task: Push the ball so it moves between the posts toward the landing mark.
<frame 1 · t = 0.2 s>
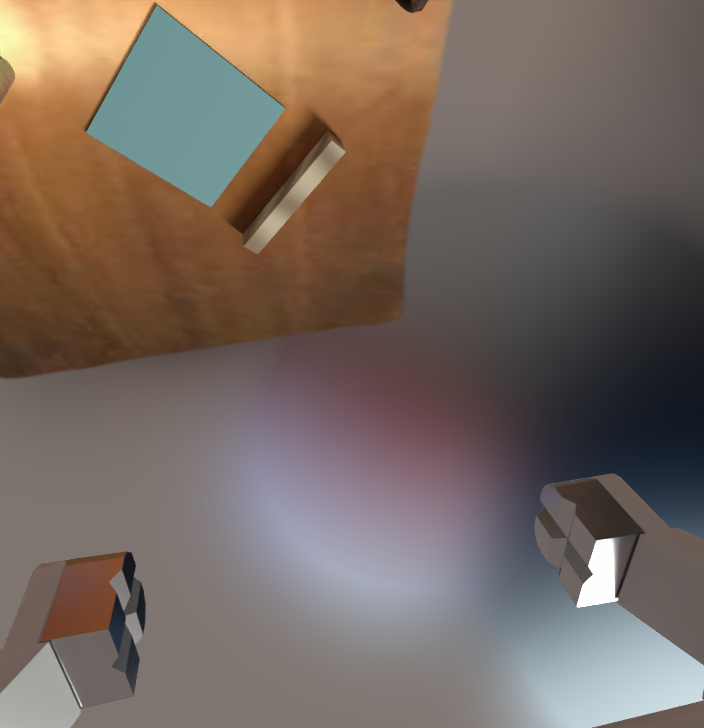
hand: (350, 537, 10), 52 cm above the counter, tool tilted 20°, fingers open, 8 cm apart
landing mark: (187, 119, 53), on the counter
stopper strip: (289, 190, 61), on the counter
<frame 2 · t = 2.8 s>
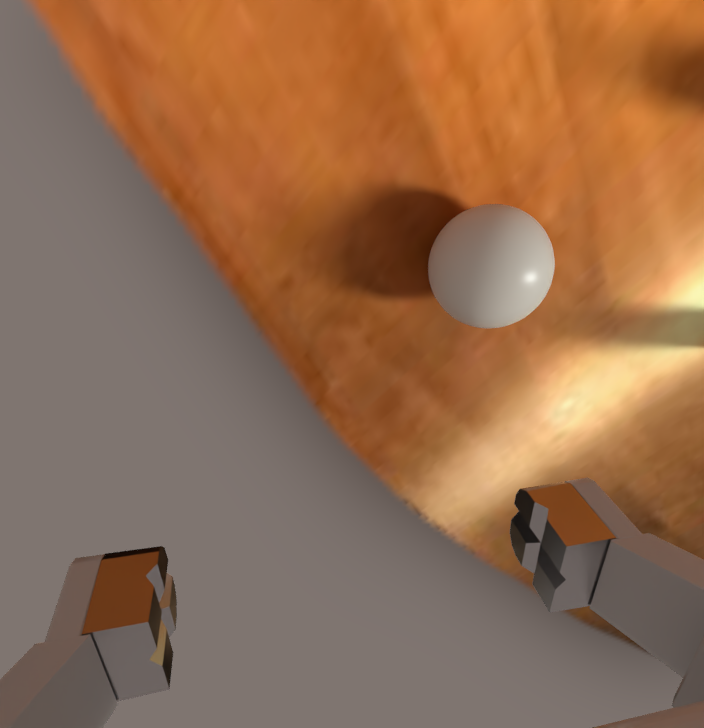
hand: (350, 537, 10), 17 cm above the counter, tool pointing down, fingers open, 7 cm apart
ball: (489, 267, 24), on the counter
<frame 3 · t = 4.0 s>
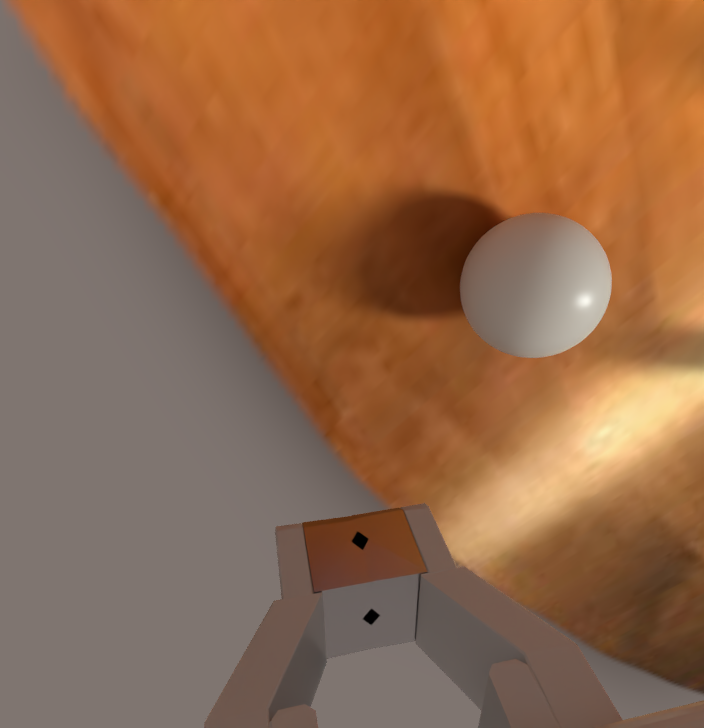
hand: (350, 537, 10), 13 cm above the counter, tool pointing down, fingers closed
ball: (532, 286, 21), on the counter
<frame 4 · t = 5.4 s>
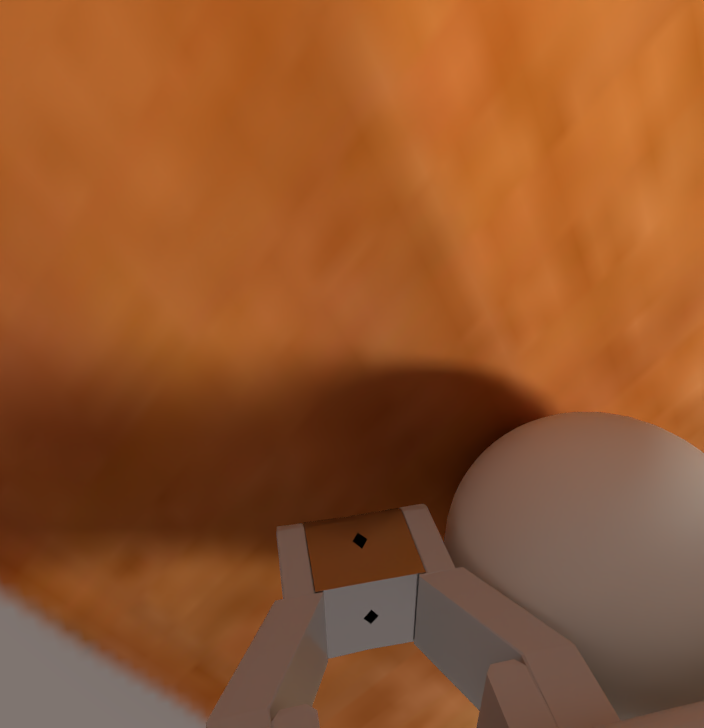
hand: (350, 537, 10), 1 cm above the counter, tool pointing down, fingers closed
ball: (592, 558, 10), on the counter, touching gripper
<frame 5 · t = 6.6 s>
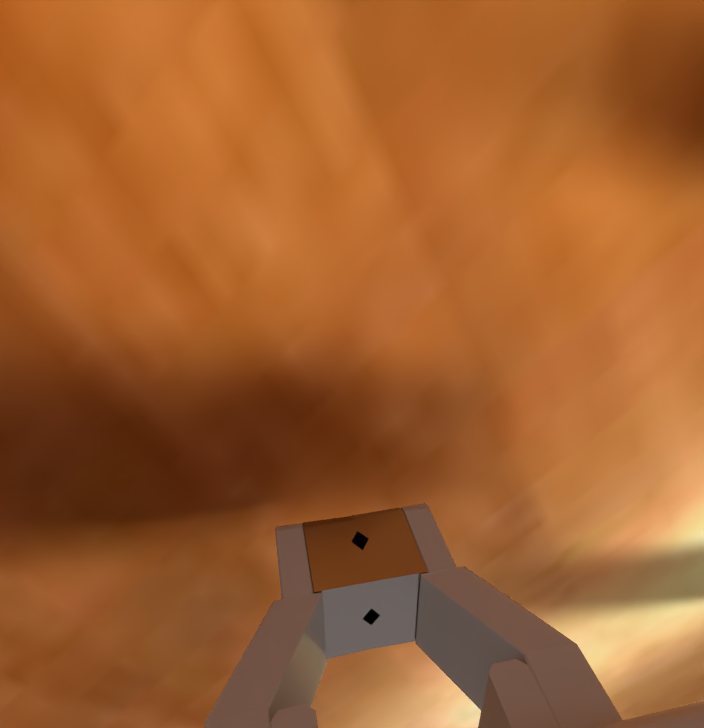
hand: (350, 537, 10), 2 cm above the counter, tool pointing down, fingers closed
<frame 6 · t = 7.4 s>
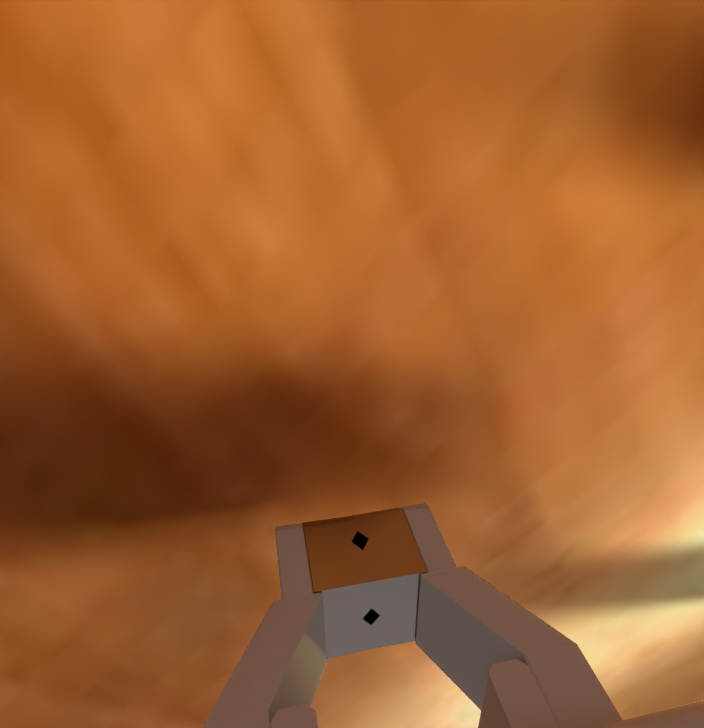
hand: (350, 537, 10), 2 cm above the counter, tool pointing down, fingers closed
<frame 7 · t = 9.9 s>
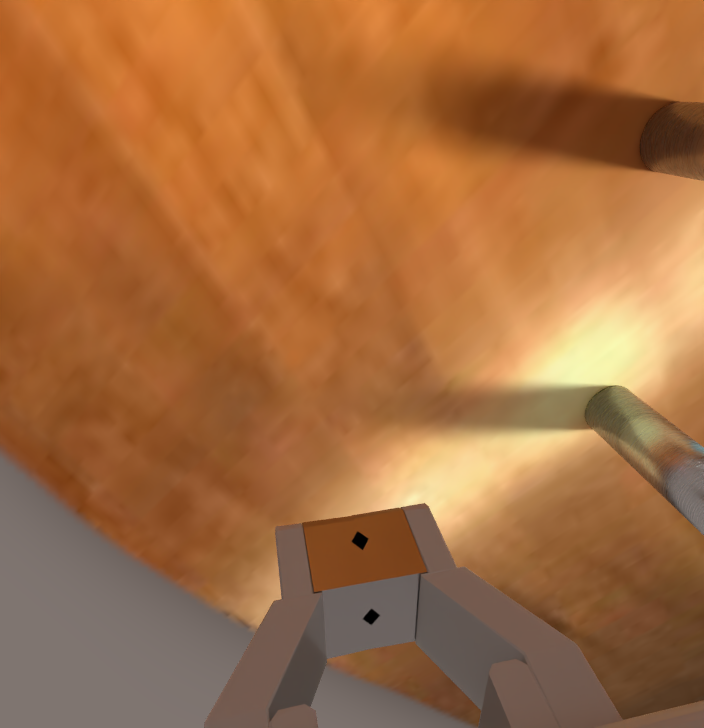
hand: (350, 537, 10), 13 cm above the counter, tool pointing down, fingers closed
post 2: (608, 408, 27), on the counter
post 1: (670, 138, 21), on the counter
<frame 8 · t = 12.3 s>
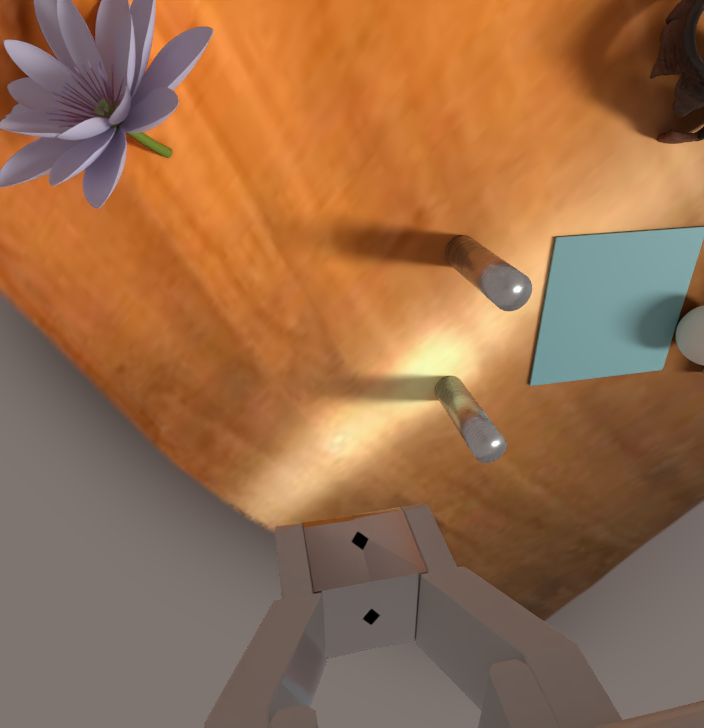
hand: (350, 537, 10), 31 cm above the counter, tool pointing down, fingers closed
landing mark: (613, 309, 47), on the counter
post 2: (448, 388, 48), on the counter
post 1: (461, 251, 42), on the counter
water lily: (109, 80, 32), on the counter
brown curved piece: (696, 69, 39), on the counter
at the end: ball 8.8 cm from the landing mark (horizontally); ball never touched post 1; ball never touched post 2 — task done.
